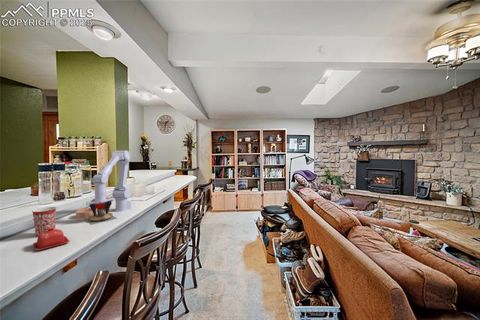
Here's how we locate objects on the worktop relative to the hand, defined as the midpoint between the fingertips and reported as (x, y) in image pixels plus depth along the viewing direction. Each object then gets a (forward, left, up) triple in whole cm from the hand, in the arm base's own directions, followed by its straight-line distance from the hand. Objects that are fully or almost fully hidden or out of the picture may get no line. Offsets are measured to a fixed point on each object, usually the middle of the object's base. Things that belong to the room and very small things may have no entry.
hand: (101, 214), depth 127 cm
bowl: (+4, -14, -3) cm, 15 cm away
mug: (+25, +1, -4) cm, 25 cm away
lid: (0, 0, -3) cm, 3 cm away
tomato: (-8, -27, -4) cm, 28 cm away
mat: (0, 0, -3) cm, 3 cm away
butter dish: (+26, +21, -4) cm, 33 cm away
